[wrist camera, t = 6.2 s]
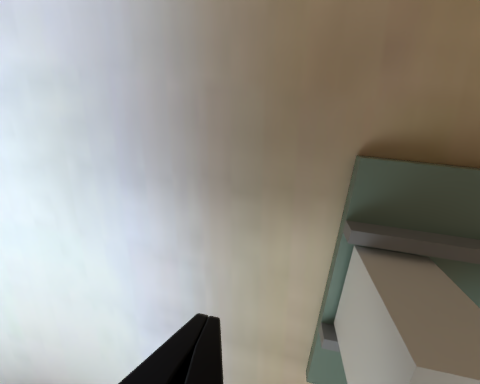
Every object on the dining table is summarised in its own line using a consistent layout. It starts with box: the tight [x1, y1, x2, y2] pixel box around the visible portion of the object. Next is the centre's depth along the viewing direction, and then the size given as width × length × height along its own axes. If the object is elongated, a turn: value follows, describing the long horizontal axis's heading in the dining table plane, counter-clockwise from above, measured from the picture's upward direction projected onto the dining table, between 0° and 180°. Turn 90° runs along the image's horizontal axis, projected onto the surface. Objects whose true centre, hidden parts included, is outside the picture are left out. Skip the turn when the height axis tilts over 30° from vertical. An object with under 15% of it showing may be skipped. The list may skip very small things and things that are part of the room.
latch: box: [334, 245, 480, 384], centre depth 8 cm, size 4×6×6 cm
